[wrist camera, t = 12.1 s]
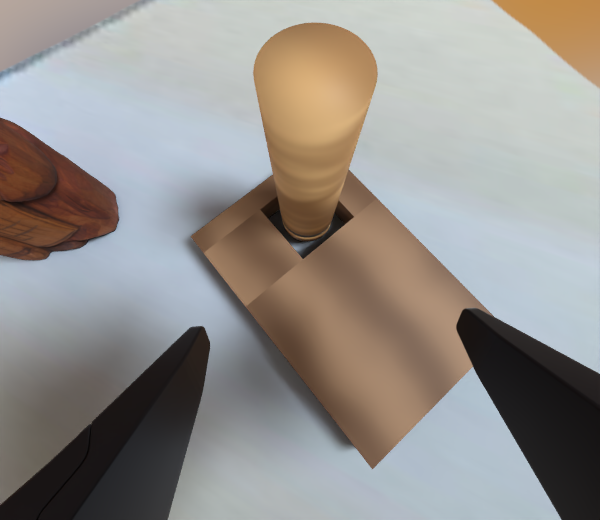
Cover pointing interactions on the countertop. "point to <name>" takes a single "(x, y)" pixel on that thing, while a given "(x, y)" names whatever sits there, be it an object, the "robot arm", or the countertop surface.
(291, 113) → the oak peg
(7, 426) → the countertop surface
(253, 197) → the walnut board
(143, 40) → the countertop surface
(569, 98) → the countertop surface
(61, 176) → the wooden figurine
